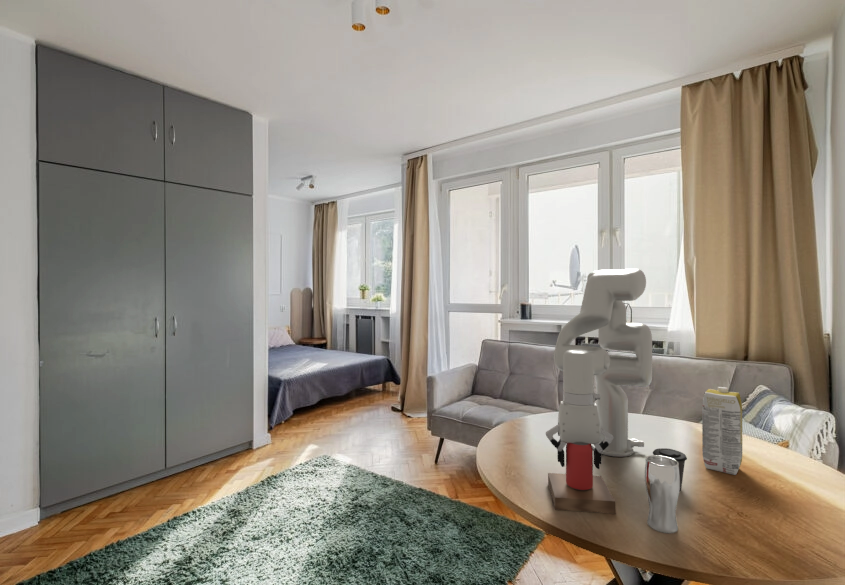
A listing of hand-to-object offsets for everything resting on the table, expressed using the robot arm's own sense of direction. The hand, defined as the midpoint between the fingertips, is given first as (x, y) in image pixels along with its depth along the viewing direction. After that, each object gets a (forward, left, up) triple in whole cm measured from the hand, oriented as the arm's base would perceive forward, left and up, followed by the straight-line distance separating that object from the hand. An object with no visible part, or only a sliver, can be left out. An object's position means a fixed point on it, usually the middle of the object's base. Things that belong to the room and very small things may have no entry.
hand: (579, 465), depth 111 cm
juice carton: (-45, -24, -9) cm, 52 cm away
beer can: (0, 0, -6) cm, 6 cm away
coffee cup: (-25, -9, -9) cm, 28 cm away
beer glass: (-16, +11, -9) cm, 21 cm away
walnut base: (0, 0, -8) cm, 8 cm away
